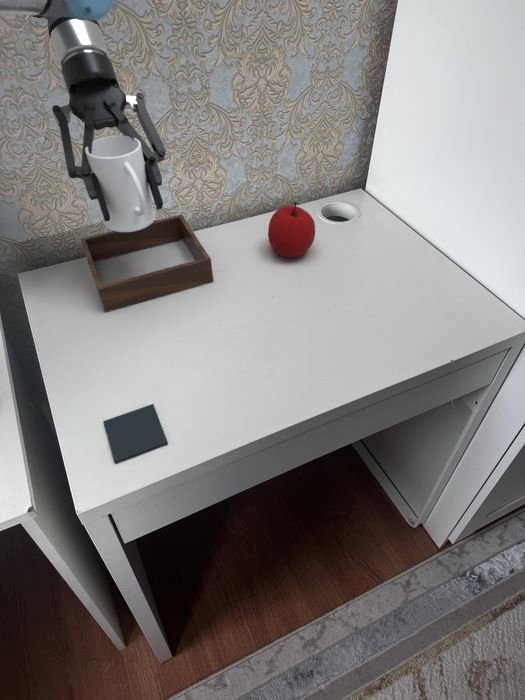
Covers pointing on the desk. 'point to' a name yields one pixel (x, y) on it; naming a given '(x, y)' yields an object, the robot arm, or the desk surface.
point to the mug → (122, 182)
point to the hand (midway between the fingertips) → (134, 212)
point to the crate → (155, 281)
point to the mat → (134, 433)
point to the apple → (291, 231)
